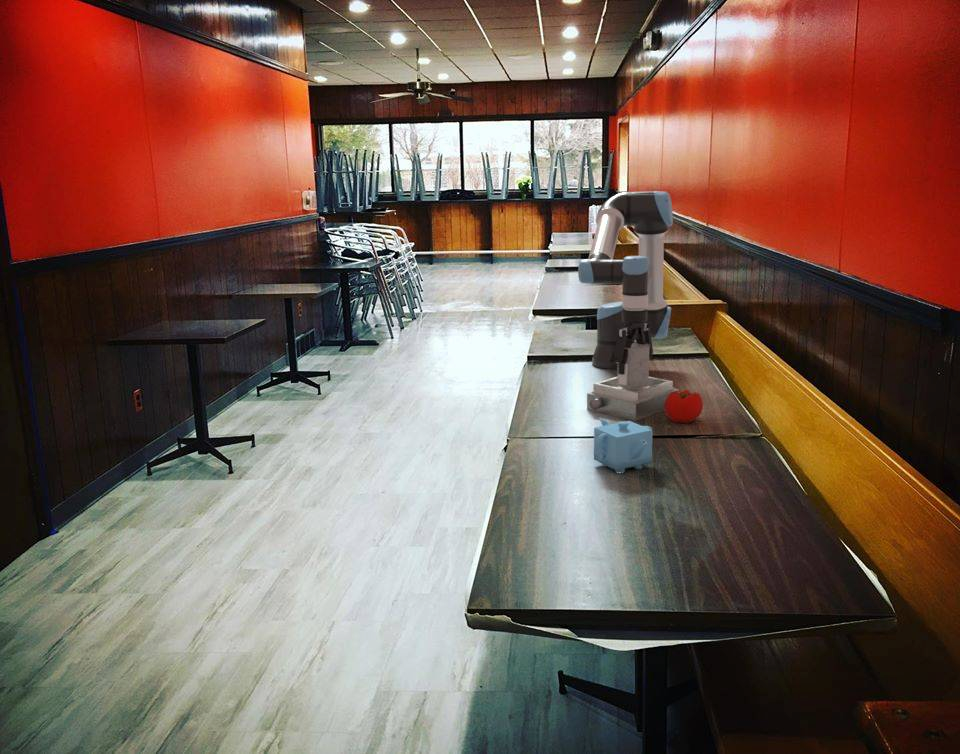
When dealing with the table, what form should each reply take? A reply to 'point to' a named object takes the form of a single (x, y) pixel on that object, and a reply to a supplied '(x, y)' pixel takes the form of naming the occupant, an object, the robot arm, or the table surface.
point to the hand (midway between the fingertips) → (633, 381)
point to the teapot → (622, 445)
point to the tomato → (683, 406)
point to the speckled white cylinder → (637, 366)
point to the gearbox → (629, 398)
